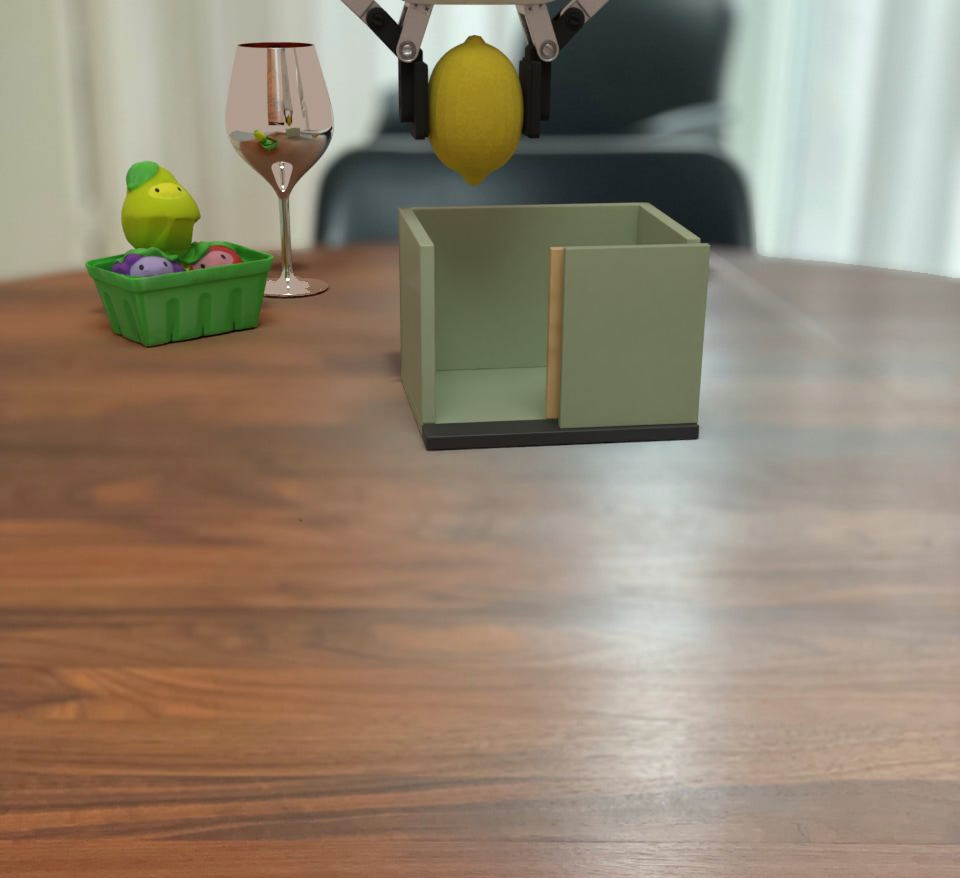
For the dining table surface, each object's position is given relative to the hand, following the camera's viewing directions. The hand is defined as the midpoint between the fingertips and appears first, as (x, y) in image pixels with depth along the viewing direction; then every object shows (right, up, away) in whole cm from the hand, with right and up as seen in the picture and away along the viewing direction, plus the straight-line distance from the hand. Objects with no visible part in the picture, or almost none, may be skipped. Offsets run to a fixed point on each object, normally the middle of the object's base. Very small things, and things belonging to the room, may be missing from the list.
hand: (474, 132), depth 84 cm
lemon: (0, -3, +1) cm, 3 cm away
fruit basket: (-21, -6, +23) cm, 32 cm away
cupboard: (+4, -14, +6) cm, 16 cm away
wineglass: (-15, -1, +35) cm, 38 cm away
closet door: (+8, -16, +2) cm, 18 cm away
